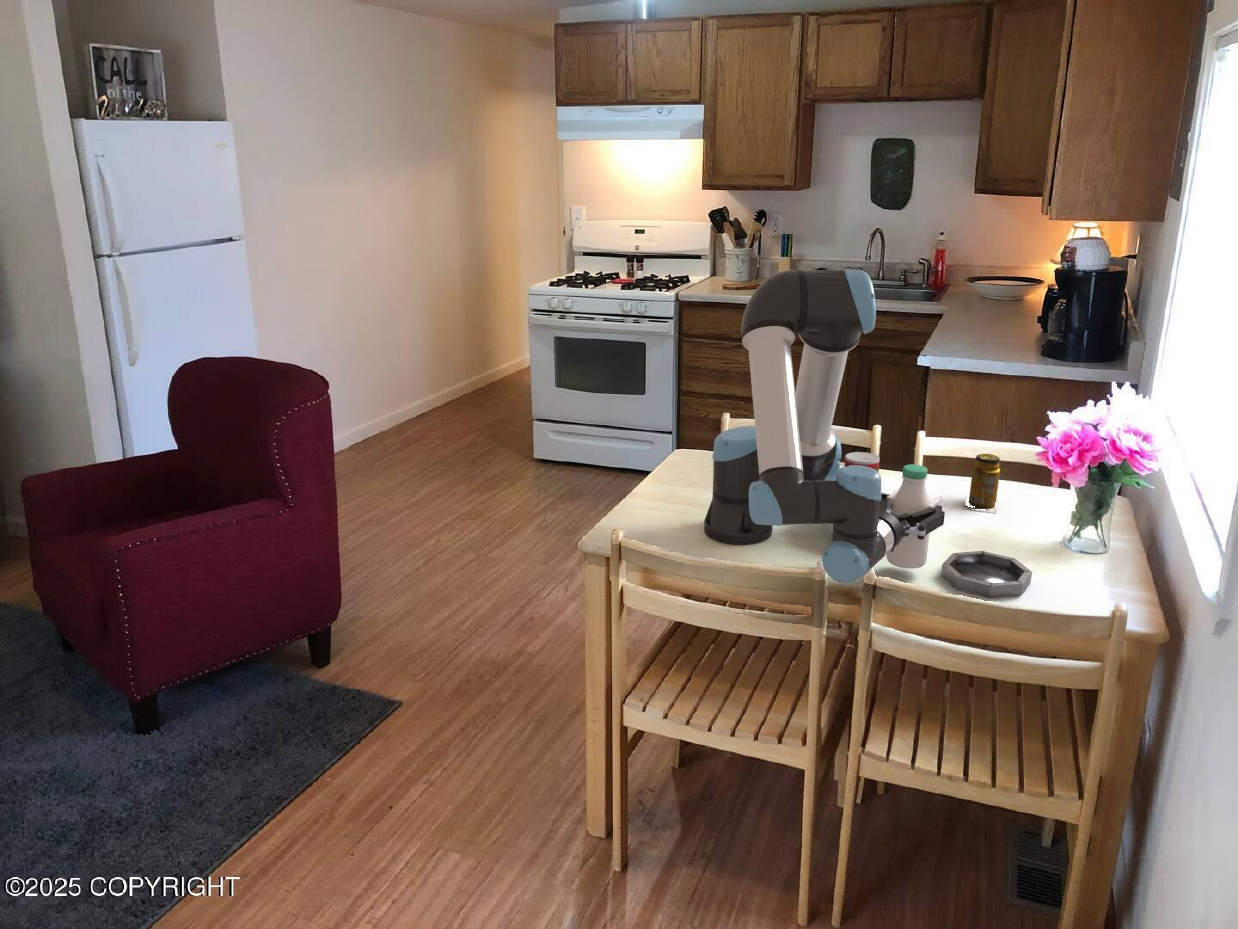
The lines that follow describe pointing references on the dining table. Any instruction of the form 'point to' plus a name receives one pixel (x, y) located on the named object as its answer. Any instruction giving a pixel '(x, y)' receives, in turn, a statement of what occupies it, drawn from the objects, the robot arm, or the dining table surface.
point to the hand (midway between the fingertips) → (920, 498)
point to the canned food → (862, 460)
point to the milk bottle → (910, 501)
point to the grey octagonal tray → (986, 574)
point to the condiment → (984, 483)
